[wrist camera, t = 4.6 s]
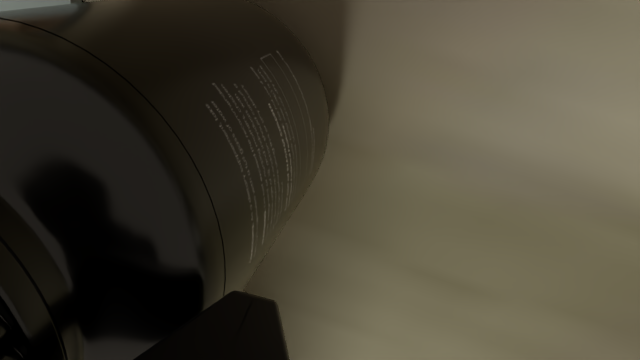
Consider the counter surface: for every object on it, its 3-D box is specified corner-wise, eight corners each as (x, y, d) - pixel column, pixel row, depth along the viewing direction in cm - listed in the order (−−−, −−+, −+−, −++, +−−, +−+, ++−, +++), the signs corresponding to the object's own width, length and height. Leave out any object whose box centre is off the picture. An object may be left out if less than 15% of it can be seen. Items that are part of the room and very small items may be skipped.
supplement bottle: (138, -49, 14) (-807, -105, 4) (369, 45, 14) (108, 313, 3) (98, 166, 17) (-492, 502, 6) (289, 250, 17) (5, 761, 6)
